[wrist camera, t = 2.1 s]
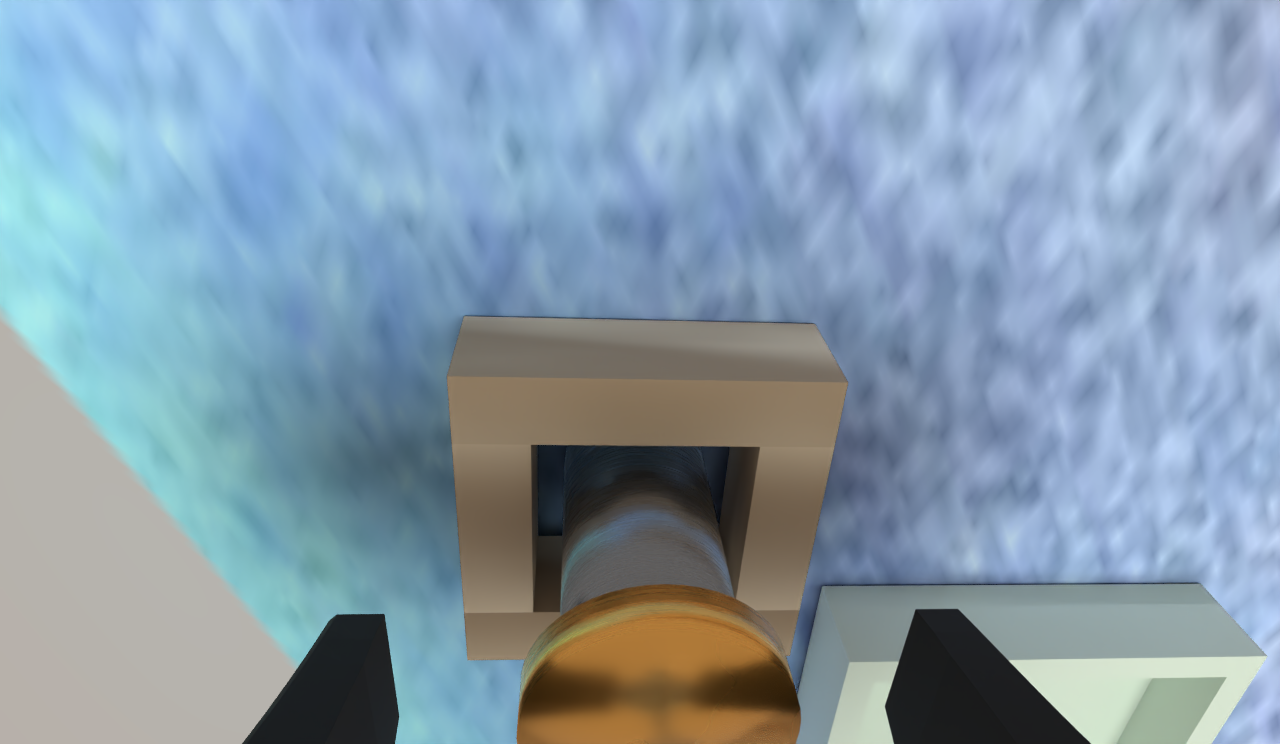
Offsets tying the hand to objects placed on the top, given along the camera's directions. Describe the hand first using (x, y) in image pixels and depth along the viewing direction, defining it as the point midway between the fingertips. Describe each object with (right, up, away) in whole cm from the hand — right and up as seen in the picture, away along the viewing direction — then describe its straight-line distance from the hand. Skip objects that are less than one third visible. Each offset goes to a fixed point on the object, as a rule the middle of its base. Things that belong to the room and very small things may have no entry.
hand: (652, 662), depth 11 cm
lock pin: (0, +2, +4) cm, 5 cm away
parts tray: (+8, -4, +9) cm, 12 cm away
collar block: (0, +2, +4) cm, 5 cm away
